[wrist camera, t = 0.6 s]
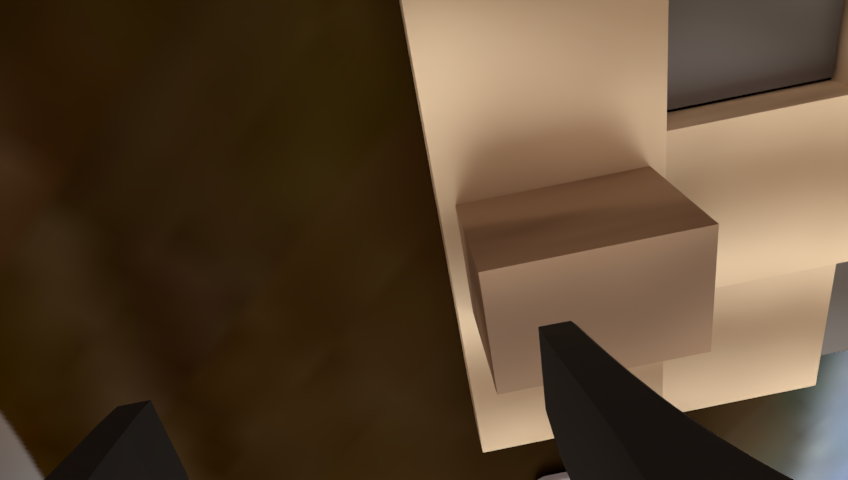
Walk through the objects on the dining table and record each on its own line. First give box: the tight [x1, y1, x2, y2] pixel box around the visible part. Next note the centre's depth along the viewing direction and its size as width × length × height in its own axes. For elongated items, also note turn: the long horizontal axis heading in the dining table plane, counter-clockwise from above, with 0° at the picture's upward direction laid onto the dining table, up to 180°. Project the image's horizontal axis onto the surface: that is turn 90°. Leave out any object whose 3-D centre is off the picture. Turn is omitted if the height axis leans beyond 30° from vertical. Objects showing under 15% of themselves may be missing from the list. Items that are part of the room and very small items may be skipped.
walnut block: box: [455, 166, 719, 395], centre depth 18 cm, size 4×6×4 cm, turn 100°
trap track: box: [399, 0, 848, 453], centre depth 20 cm, size 17×26×2 cm, turn 100°
